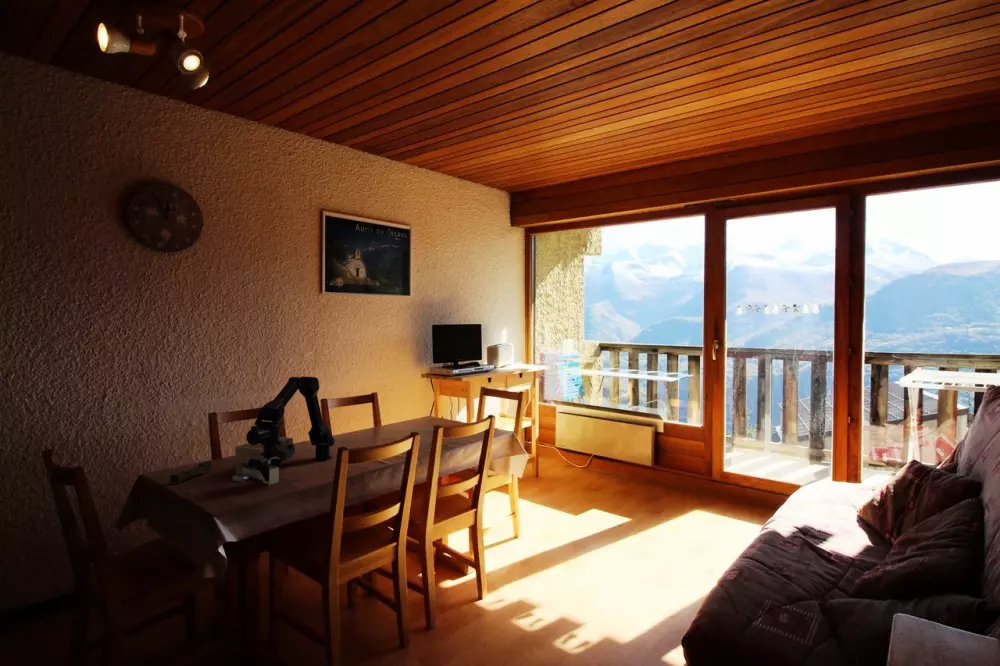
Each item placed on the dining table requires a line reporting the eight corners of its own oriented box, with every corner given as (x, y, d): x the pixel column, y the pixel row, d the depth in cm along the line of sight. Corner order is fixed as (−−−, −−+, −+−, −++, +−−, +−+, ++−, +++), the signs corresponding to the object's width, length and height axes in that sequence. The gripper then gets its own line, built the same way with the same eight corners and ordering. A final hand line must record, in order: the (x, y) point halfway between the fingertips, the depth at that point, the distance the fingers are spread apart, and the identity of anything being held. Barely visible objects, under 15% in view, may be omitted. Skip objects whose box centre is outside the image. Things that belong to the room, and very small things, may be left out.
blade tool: (248, 471, 217) (248, 456, 216) (278, 482, 207) (278, 467, 206) (239, 473, 213) (239, 459, 213) (269, 485, 204) (269, 469, 203)
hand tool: (177, 485, 202) (177, 473, 202) (169, 484, 204) (169, 472, 203) (217, 471, 221) (217, 460, 220) (209, 470, 222) (209, 459, 221)
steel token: (242, 476, 214) (242, 473, 214) (252, 479, 211) (252, 475, 211) (228, 481, 209) (228, 477, 209) (239, 483, 206) (239, 479, 206)
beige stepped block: (269, 460, 236) (269, 435, 235) (293, 463, 232) (293, 438, 232) (235, 474, 216) (235, 447, 216) (260, 477, 213) (260, 449, 213)
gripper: (272, 446, 194) (272, 489, 195) (304, 434, 212) (304, 474, 213) (246, 443, 197) (247, 485, 198) (280, 432, 215) (280, 471, 216)
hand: (271, 479), depth 206 cm, fingers closed on blade tool, 5 cm apart
